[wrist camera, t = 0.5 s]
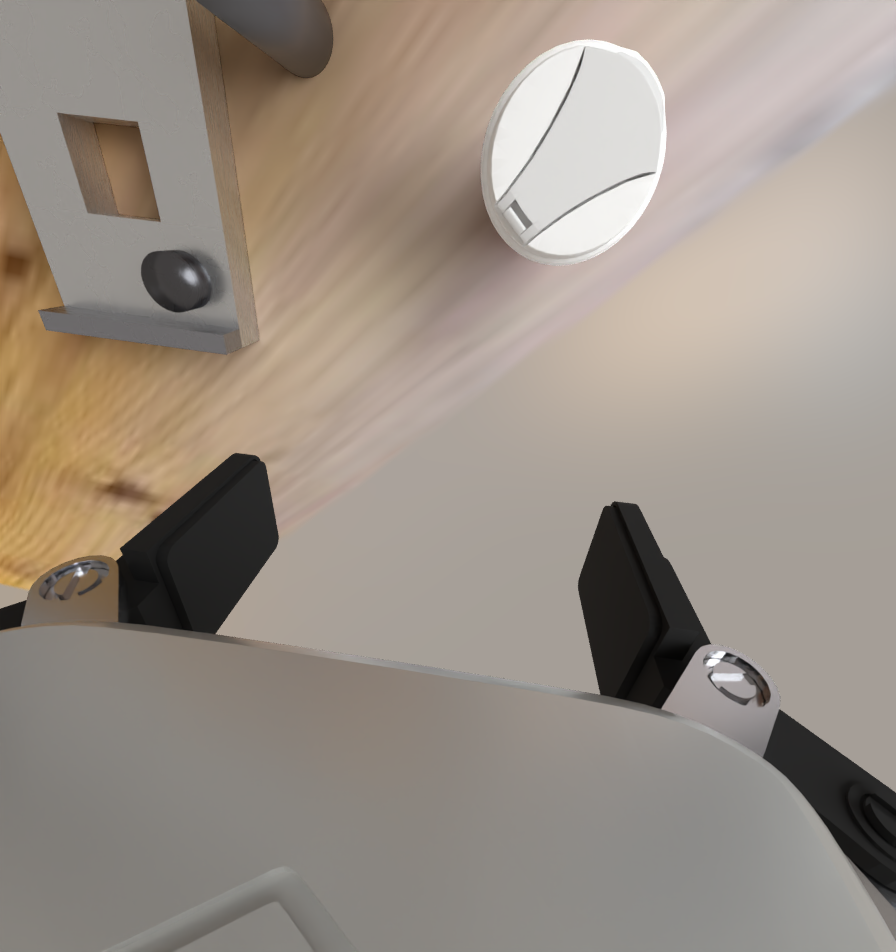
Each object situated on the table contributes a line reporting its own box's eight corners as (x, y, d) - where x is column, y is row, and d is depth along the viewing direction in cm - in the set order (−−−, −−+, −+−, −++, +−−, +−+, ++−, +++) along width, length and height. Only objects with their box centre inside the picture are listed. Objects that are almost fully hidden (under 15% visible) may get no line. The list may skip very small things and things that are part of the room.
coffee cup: (532, 277, 33) (551, 305, 21) (465, 187, 31) (440, 156, 18) (625, 191, 30) (718, 162, 17) (559, 82, 27) (610, -49, 14)
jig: (-29, -64, 27) (-139, -126, 22) (205, -43, 26) (142, -101, 21) (99, 318, 39) (46, 330, 35) (259, 339, 39) (226, 354, 34)
